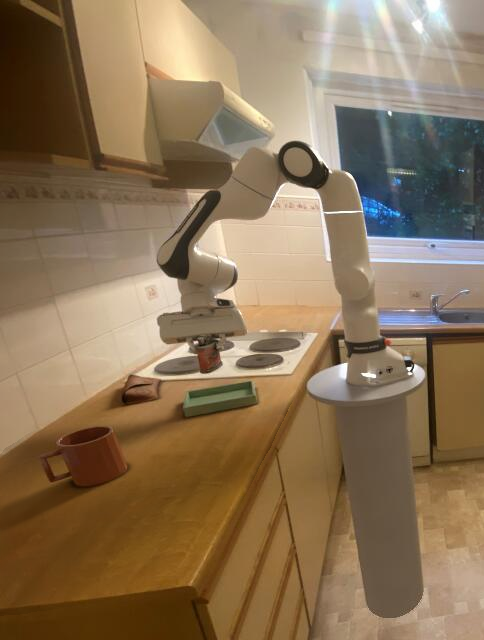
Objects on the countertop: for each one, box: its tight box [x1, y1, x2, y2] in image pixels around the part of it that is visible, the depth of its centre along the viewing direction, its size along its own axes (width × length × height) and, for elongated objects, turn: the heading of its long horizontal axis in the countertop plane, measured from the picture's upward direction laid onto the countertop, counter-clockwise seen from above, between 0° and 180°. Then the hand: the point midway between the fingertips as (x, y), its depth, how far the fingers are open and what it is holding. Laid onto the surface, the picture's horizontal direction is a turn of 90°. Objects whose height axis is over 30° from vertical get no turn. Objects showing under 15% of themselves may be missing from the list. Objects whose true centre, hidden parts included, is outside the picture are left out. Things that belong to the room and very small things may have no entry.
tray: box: [182, 380, 258, 418], centre depth 126 cm, size 17×13×3 cm
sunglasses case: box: [120, 373, 162, 405], centre depth 132 cm, size 18×7×7 cm
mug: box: [37, 425, 128, 487], centre depth 90 cm, size 12×9×10 cm
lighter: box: [195, 333, 224, 375], centre depth 121 cm, size 8×3×10 cm, turn 4°
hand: (209, 351), depth 120 cm, fingers closed on lighter, 4 cm apart
